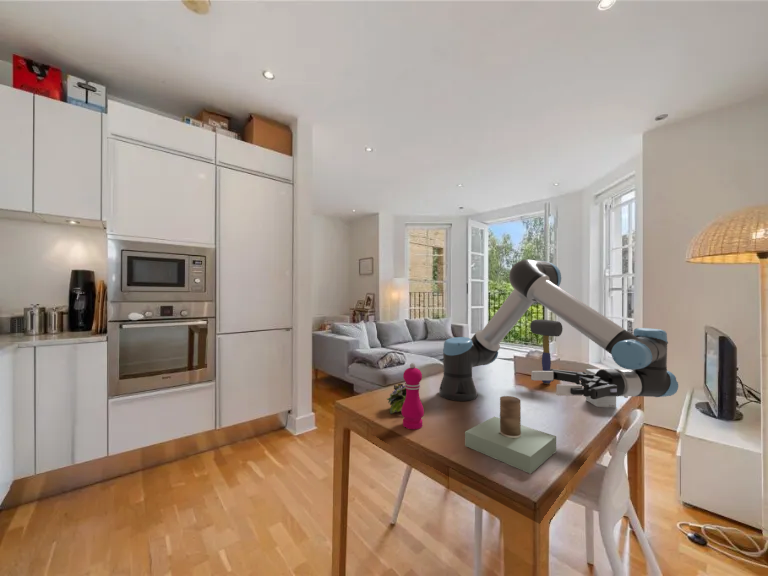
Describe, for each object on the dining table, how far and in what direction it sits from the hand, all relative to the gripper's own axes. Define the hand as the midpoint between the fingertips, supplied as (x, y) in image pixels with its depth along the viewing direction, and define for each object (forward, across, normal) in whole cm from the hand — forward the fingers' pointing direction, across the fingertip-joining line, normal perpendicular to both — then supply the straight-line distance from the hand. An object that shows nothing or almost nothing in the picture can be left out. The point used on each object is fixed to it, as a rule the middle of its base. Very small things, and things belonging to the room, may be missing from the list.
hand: (543, 382), depth 90 cm
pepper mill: (+36, +12, -18) cm, 42 cm away
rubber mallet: (-32, +57, -18) cm, 67 cm away
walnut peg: (+11, -4, -17) cm, 20 cm away
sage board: (+11, -4, -17) cm, 21 cm away
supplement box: (-38, +30, -17) cm, 52 cm away
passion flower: (+38, +25, -18) cm, 49 cm away
